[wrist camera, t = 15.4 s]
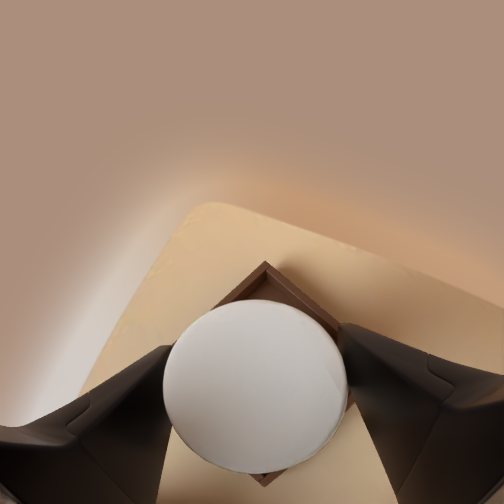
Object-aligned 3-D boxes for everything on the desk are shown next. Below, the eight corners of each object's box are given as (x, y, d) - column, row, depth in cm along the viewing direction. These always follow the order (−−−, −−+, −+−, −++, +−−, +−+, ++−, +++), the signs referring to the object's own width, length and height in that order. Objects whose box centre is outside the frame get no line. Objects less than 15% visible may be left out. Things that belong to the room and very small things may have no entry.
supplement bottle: (268, 329, 16) (256, 229, 7) (339, 392, 13) (424, 366, 5) (197, 394, 14) (96, 369, 6) (267, 462, 12) (251, 539, 3)
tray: (376, 366, 16) (386, 362, 14) (265, 479, 13) (264, 487, 11) (266, 273, 20) (265, 260, 18) (159, 369, 17) (147, 365, 15)
